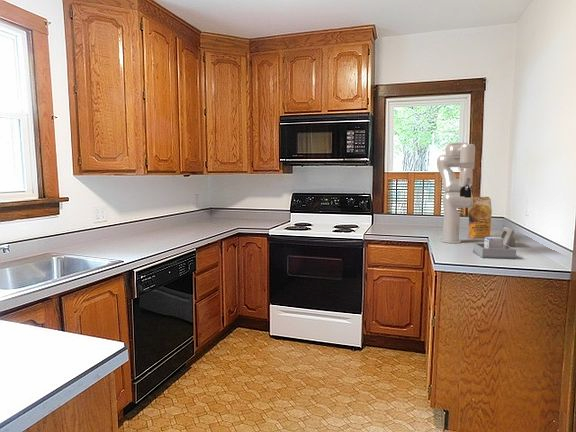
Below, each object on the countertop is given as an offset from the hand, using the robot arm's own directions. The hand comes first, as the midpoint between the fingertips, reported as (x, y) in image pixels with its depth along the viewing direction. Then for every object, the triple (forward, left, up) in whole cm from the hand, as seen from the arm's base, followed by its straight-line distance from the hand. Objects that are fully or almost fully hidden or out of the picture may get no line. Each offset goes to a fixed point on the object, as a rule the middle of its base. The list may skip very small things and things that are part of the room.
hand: (465, 197), depth 218 cm
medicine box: (+13, +12, -30) cm, 34 cm away
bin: (+13, +12, -30) cm, 35 cm away
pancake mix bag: (-49, +23, -31) cm, 62 cm away
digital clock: (-21, +30, -31) cm, 48 cm away
